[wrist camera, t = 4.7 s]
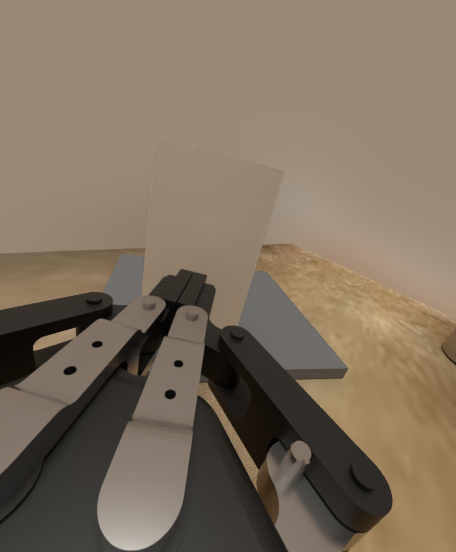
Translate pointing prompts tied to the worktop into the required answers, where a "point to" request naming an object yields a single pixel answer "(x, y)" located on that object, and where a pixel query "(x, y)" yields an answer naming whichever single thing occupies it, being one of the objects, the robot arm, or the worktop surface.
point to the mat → (253, 322)
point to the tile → (208, 222)
